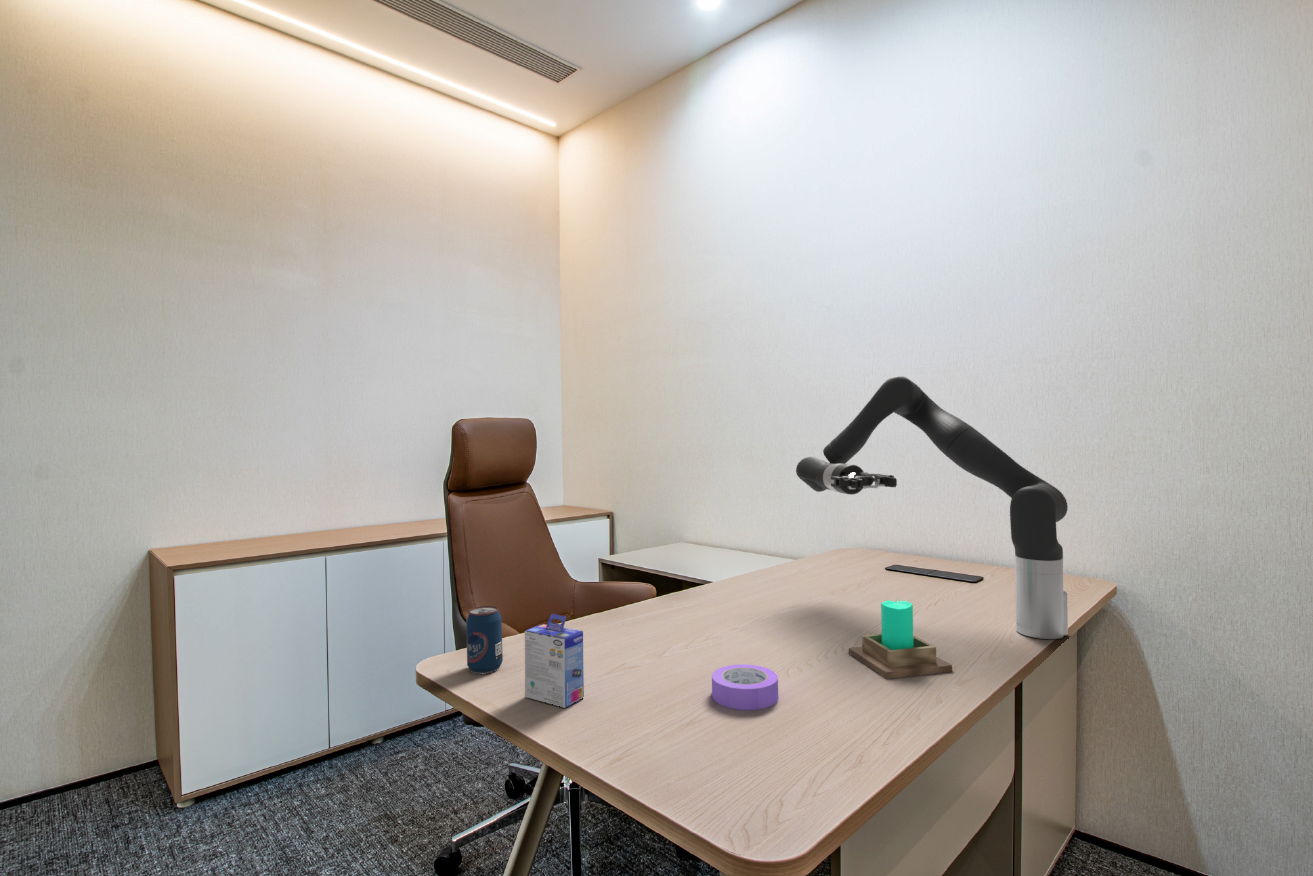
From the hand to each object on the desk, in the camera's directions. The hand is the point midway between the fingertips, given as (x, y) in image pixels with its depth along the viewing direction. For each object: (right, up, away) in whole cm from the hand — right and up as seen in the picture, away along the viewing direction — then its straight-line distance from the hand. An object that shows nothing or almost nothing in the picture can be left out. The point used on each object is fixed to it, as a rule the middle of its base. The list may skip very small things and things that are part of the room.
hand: (878, 483), depth 147 cm
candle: (-3, -33, -20) cm, 39 cm away
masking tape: (-36, -36, -34) cm, 61 cm away
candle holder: (-3, -34, -20) cm, 40 cm away
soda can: (-86, -36, -18) cm, 95 cm away
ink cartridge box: (-70, -36, -33) cm, 85 cm away
